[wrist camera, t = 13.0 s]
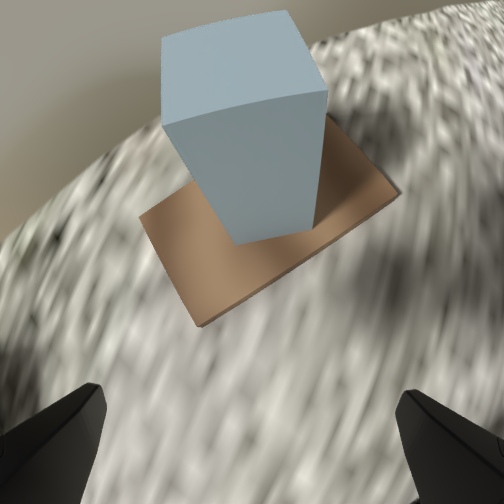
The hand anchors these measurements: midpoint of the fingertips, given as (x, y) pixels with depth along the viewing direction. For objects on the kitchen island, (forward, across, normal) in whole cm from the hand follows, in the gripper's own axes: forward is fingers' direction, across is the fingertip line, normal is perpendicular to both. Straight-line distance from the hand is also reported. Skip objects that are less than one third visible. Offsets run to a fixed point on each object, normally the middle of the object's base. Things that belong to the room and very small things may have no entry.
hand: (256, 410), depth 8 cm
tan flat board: (+16, -1, -3) cm, 16 cm away
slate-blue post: (+15, -1, -4) cm, 15 cm away
